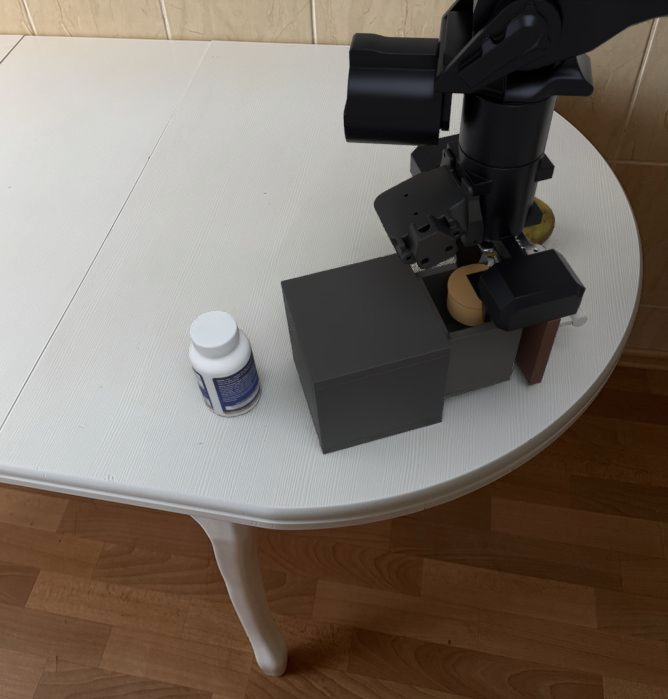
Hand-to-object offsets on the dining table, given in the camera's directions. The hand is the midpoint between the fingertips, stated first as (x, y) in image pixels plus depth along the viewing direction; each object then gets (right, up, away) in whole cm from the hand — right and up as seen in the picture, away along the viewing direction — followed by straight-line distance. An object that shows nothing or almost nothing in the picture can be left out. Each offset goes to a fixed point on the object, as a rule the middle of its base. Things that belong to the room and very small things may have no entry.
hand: (476, 297), depth 59 cm
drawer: (+3, -4, +7) cm, 9 cm away
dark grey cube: (-9, -8, +6) cm, 14 cm away
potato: (+4, +7, +17) cm, 19 cm away
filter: (0, -1, +1) cm, 1 cm away
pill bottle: (-21, -9, +7) cm, 24 cm away
